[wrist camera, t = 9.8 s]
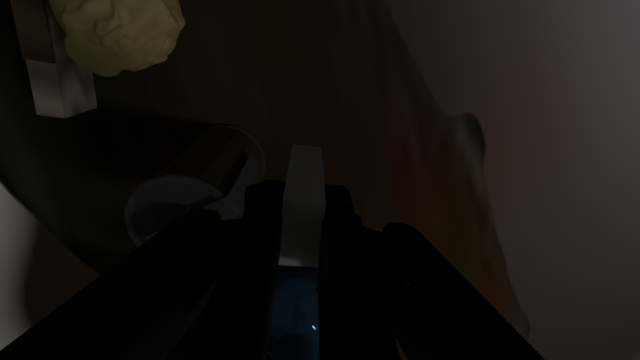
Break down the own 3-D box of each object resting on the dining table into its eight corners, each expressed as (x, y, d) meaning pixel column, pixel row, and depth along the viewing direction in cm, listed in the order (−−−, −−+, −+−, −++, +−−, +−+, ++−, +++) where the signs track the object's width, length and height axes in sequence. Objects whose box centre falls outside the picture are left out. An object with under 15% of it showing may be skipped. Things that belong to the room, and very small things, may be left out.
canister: (217, 203, 48) (157, 305, 30) (176, 143, 44) (78, 219, 26) (281, 175, 46) (258, 265, 28) (244, 110, 43) (190, 165, 24)
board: (97, 107, 42) (63, 119, 36) (72, 104, 42) (34, 115, 36) (66, -128, 33) (13, -163, 27) (34, -134, 32) (-27, -171, 27)
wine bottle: (244, 231, 50) (159, 464, 23) (318, 195, 48) (324, 407, 21) (288, 290, 55) (262, 539, 28) (358, 260, 53) (404, 500, 26)
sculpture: (142, 83, 41) (88, 98, 31) (69, -10, 37) (-21, -27, 27) (214, 34, 39) (180, 34, 29) (145, -72, 35) (77, -114, 25)
